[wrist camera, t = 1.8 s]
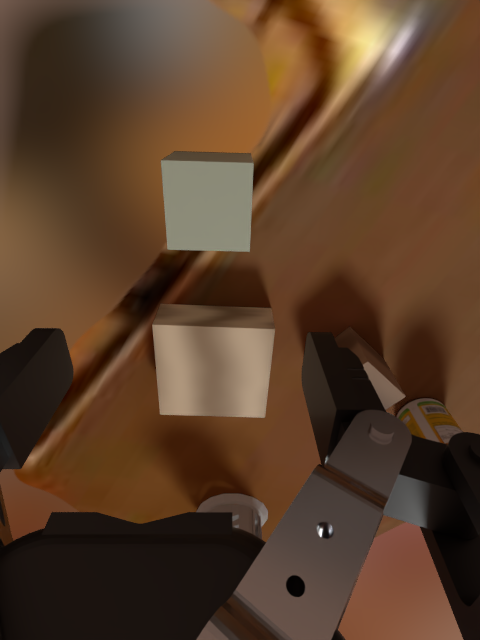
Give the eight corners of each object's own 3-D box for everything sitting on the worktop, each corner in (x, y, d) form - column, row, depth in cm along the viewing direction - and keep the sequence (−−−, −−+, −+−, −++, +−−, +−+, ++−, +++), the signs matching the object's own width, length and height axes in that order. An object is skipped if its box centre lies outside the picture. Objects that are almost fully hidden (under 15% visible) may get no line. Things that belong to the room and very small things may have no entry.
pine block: (270, 306, 33) (274, 329, 29) (262, 389, 38) (264, 417, 34) (161, 301, 32) (152, 324, 29) (167, 386, 37) (160, 414, 34)
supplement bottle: (406, 438, 41) (449, 522, 33) (386, 411, 39) (426, 494, 31) (452, 418, 40) (510, 500, 31) (433, 388, 37) (490, 468, 29)
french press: (181, 509, 48) (135, 836, 26) (254, 478, 45) (270, 822, 23) (223, 542, 52) (213, 848, 31) (292, 516, 49) (336, 837, 27)
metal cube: (349, 325, 34) (367, 361, 29) (383, 358, 35) (406, 396, 31) (305, 360, 36) (315, 398, 31) (339, 389, 37) (354, 429, 33)
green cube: (250, 153, 26) (253, 163, 21) (247, 228, 29) (249, 251, 24) (174, 151, 26) (160, 160, 21) (179, 226, 29) (167, 249, 24)
